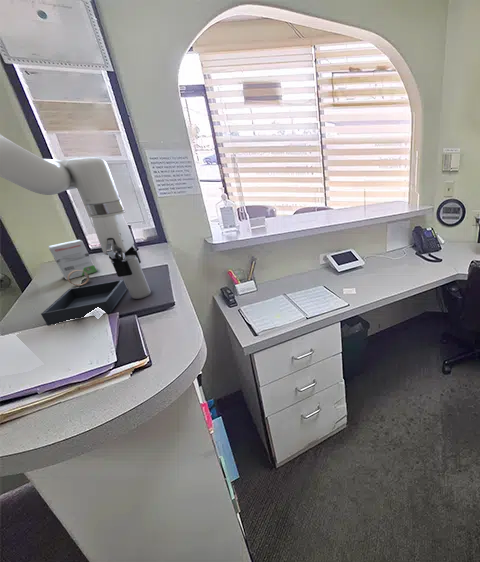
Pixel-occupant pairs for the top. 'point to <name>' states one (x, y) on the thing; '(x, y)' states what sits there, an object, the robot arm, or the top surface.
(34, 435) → the top surface
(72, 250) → the ink box
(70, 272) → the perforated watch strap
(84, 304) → the desk tray
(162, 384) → the top surface
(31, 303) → the top surface
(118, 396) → the top surface
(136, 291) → the beverage can
